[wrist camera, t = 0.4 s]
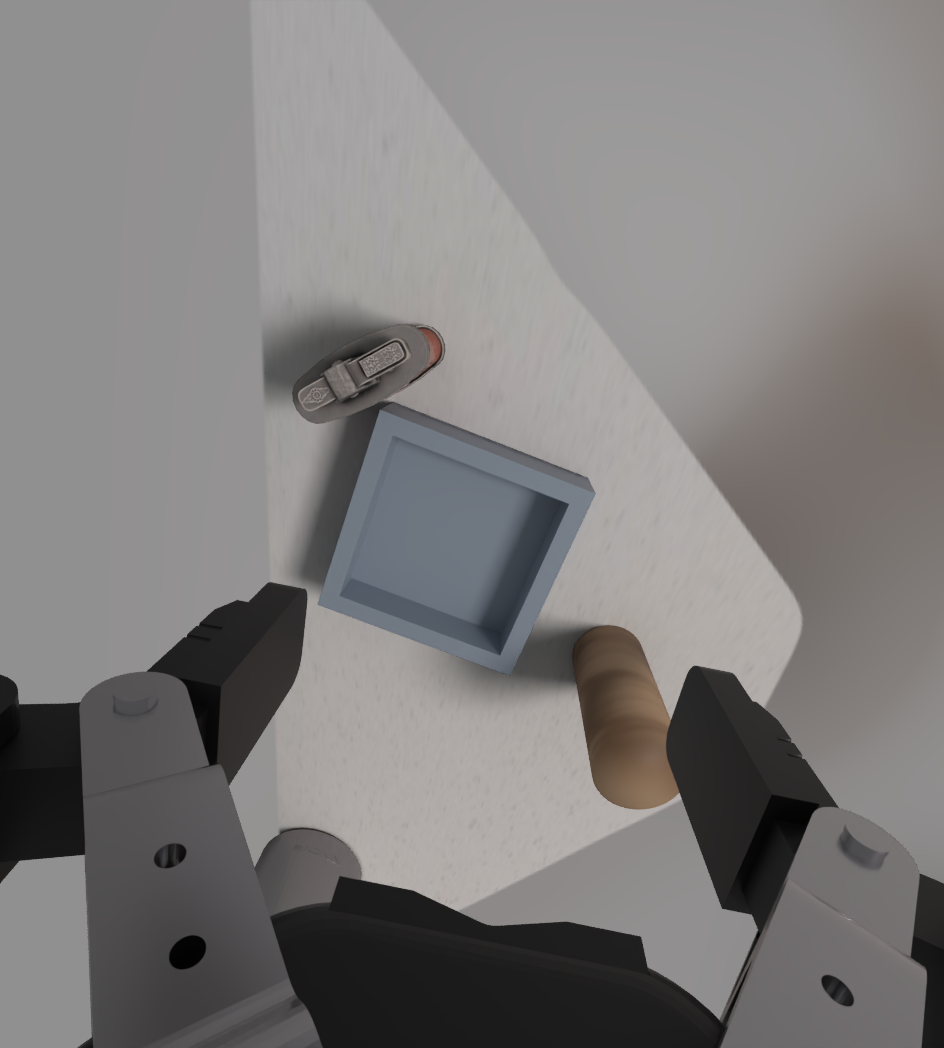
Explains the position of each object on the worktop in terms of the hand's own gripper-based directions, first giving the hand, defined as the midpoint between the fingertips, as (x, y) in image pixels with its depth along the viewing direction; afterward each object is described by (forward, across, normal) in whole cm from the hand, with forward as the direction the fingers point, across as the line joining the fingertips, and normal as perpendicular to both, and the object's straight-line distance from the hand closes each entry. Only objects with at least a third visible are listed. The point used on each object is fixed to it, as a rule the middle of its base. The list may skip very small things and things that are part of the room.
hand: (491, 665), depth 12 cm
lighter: (+28, -8, +3) cm, 30 cm away
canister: (+28, +11, -15) cm, 34 cm away
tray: (+28, -2, -7) cm, 29 cm away
